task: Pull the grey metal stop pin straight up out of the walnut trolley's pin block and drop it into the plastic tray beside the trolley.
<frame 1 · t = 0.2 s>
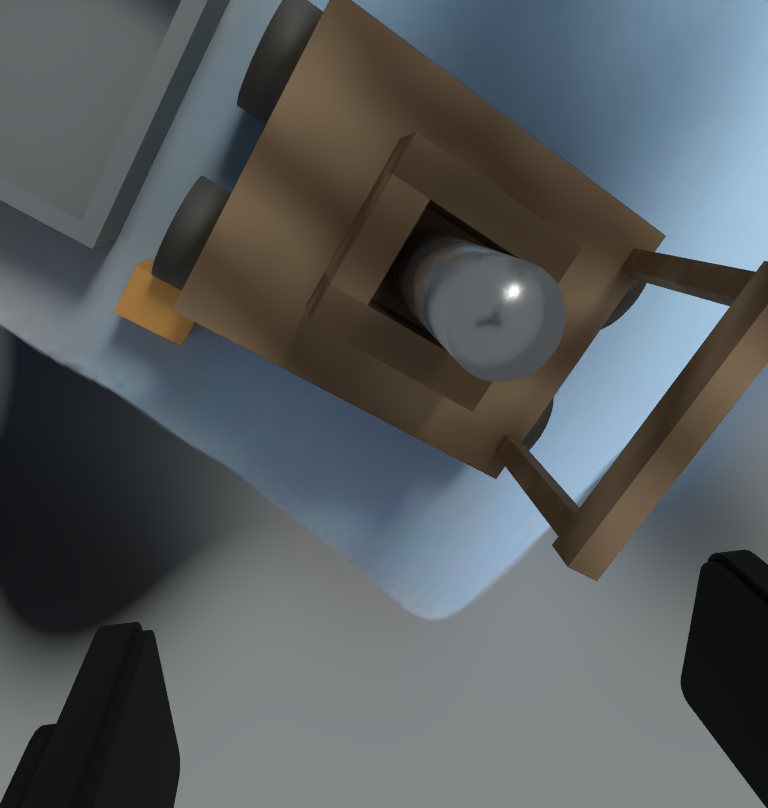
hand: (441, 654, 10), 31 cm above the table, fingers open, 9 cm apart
tray: (29, 22, 31), on the table
trolley: (401, 254, 38), on the table
stop pin: (428, 271, 31), point 8 cm above the table, touching trolley
orange block: (169, 297, 37), on the table
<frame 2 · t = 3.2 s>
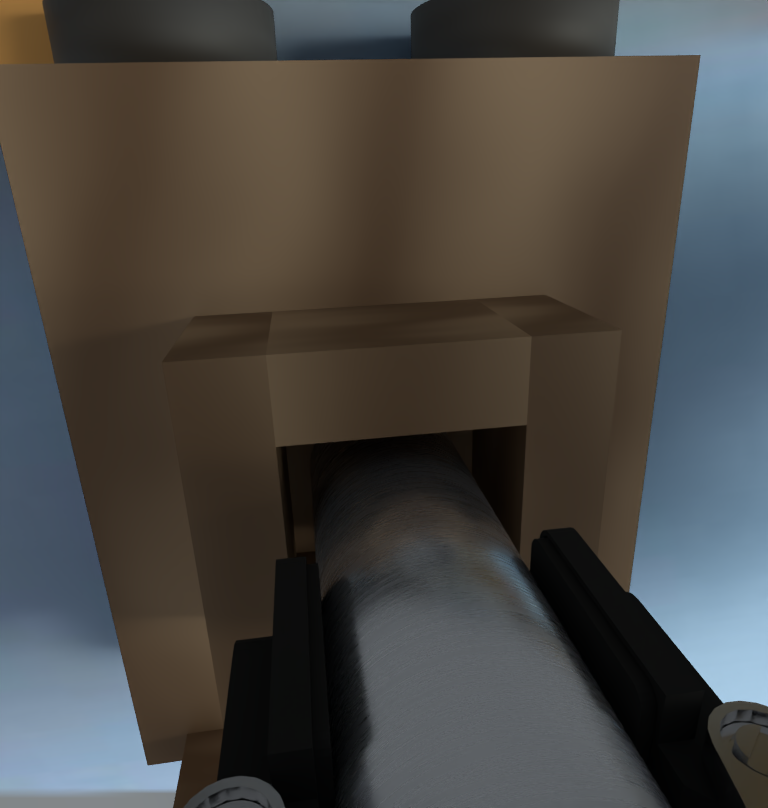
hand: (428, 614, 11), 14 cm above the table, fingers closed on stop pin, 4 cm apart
trolley: (354, 377, 24), on the table
stop pin: (382, 464, 17), point 8 cm above the table, touching gripper, trolley
orange block: (42, 73, 19), on the table
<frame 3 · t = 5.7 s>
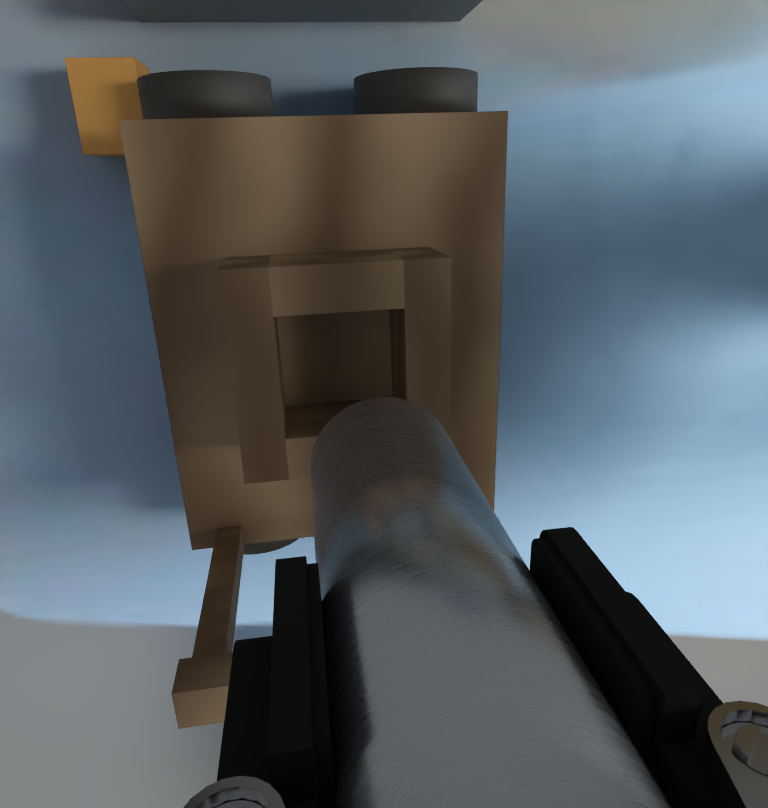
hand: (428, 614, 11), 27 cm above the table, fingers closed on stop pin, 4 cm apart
trolley: (325, 314, 36), on the table
stop pin: (381, 464, 17), point 20 cm above the table, touching gripper
orange block: (124, 113, 31), on the table
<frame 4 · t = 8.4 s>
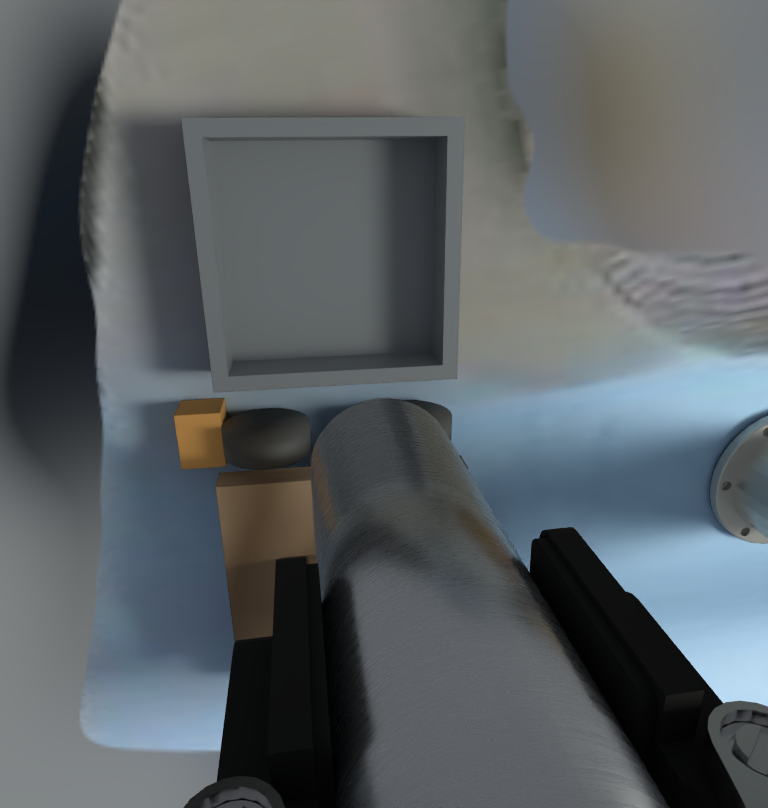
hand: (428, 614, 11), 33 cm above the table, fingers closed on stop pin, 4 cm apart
tray: (329, 253, 41), on the table
trolley: (342, 542, 49), on the table
stop pin: (381, 465, 17), point 27 cm above the table, touching gripper
orange block: (206, 425, 44), on the table
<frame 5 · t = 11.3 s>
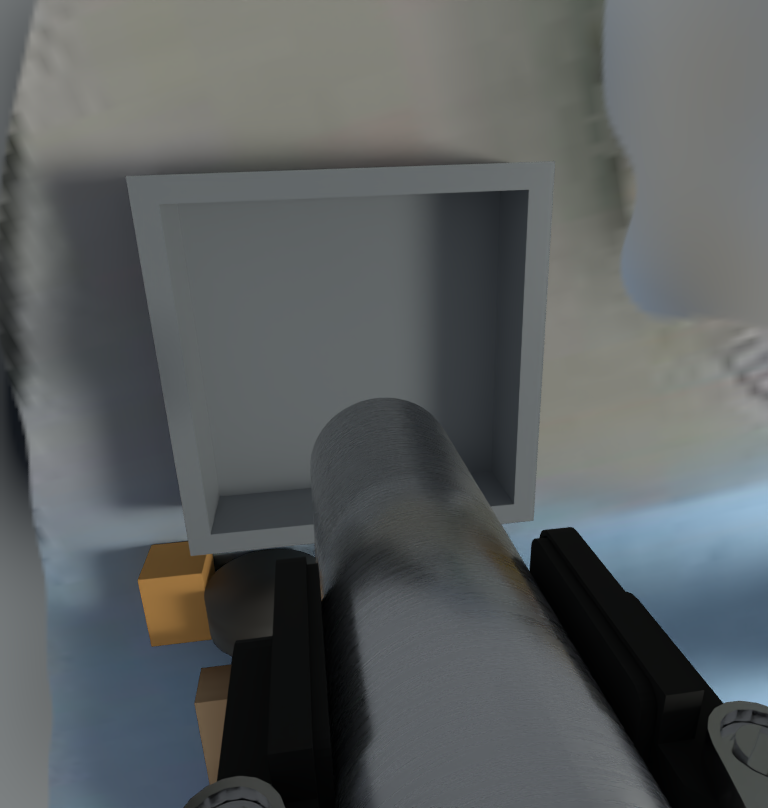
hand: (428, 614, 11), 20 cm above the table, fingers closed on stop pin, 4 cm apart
tray: (350, 346, 30), on the table
trolley: (370, 705, 38), on the table
stop pin: (381, 464, 17), point 13 cm above the table, touching gripper
orange block: (186, 573, 33), on the table
when the fingers open (10 cm above the table, at t = 13.9 s): stop pin drops 3 cm, resting on tray.
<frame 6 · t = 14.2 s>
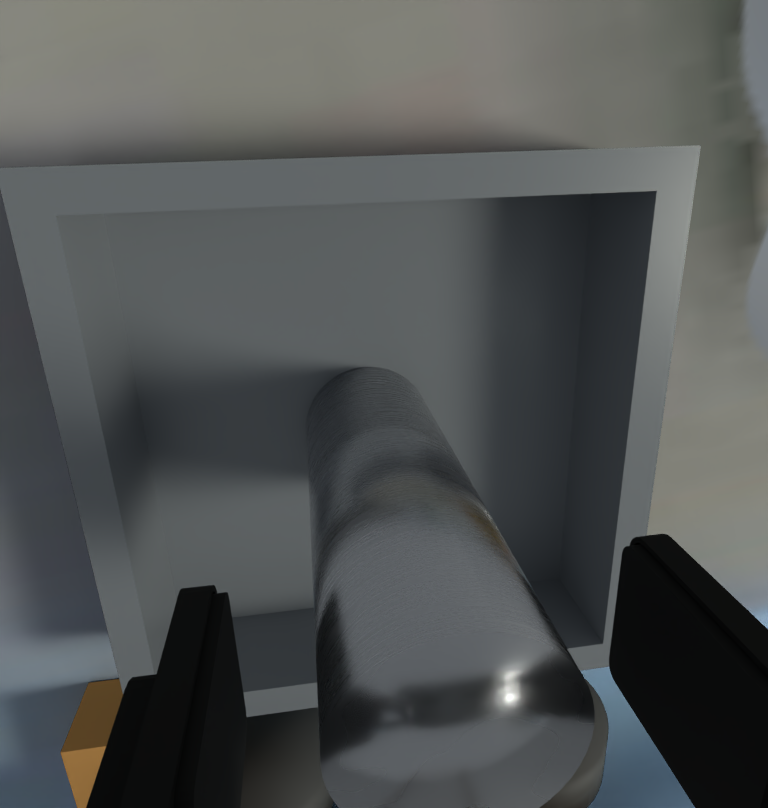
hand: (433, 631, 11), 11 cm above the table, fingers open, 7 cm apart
tray: (365, 413, 21), on the table
stop pin: (367, 425, 20), point 1 cm above the table, touching tray
orange block: (139, 716, 24), on the table
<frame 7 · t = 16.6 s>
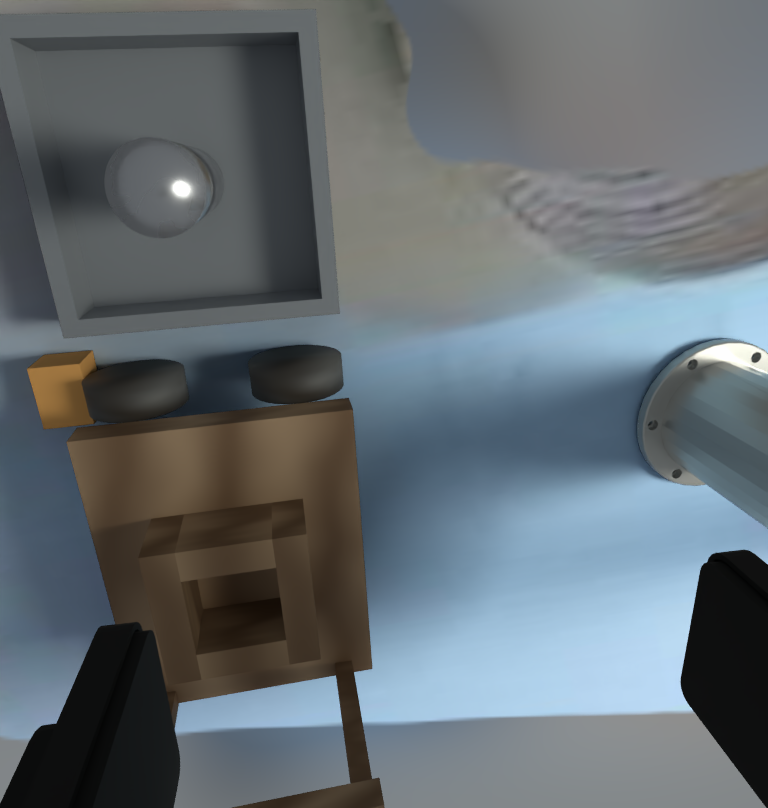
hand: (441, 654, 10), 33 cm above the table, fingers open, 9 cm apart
tray: (192, 181, 37), on the table
trolley: (243, 505, 46), on the table
stop pin: (189, 182, 36), point 1 cm above the table, touching tray
orange block: (75, 381, 40), on the table
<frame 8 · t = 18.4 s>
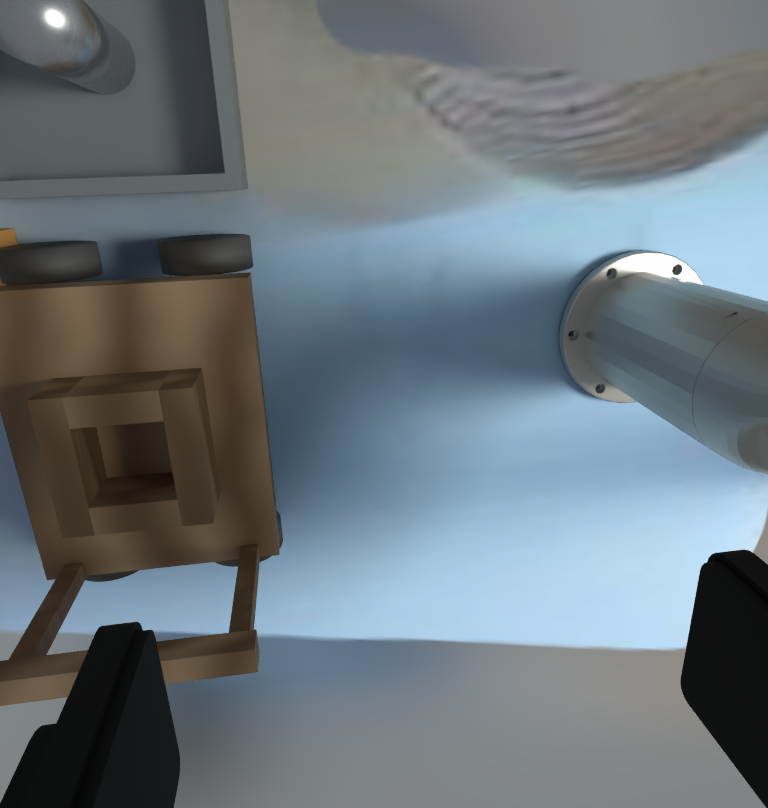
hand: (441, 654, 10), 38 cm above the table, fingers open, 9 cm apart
tray: (107, 61, 39), on the table
trolley: (164, 397, 47), on the table
stop pin: (101, 58, 38), point 1 cm above the table, touching tray
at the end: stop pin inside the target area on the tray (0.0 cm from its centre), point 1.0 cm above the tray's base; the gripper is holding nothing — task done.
